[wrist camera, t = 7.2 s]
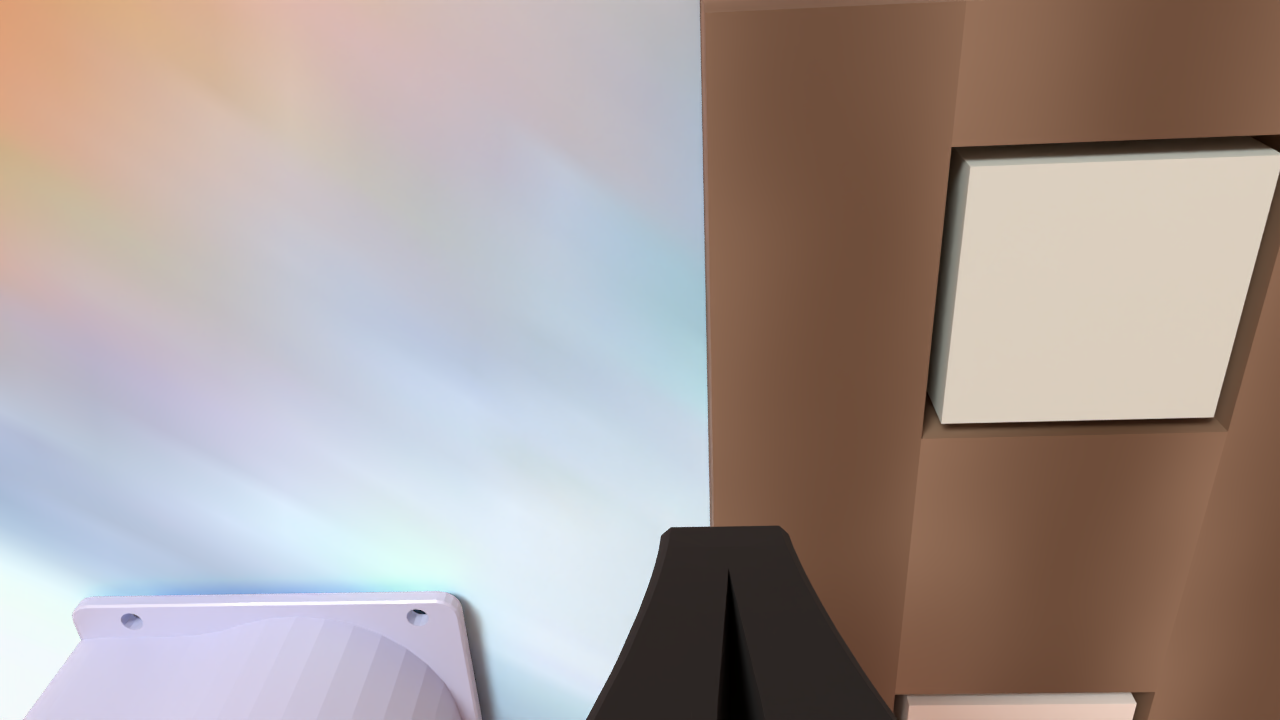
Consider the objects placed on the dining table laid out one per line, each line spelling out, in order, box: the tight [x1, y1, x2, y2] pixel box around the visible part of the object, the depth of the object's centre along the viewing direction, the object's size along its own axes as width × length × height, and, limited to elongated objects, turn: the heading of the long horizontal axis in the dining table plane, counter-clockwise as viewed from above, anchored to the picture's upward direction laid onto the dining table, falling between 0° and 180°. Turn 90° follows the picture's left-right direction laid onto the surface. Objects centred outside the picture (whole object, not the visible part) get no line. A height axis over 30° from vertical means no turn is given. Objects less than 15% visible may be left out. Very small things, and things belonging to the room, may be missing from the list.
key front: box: [926, 136, 1280, 424], centre depth 17 cm, size 4×4×3 cm
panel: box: [700, 0, 1280, 720], centre depth 20 cm, size 12×20×4 cm, turn 3°
